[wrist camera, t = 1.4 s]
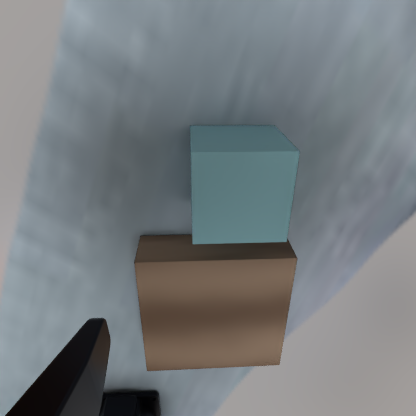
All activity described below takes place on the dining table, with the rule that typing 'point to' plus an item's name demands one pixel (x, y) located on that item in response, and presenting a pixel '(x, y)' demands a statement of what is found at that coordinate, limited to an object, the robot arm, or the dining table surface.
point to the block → (241, 183)
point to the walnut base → (213, 302)
